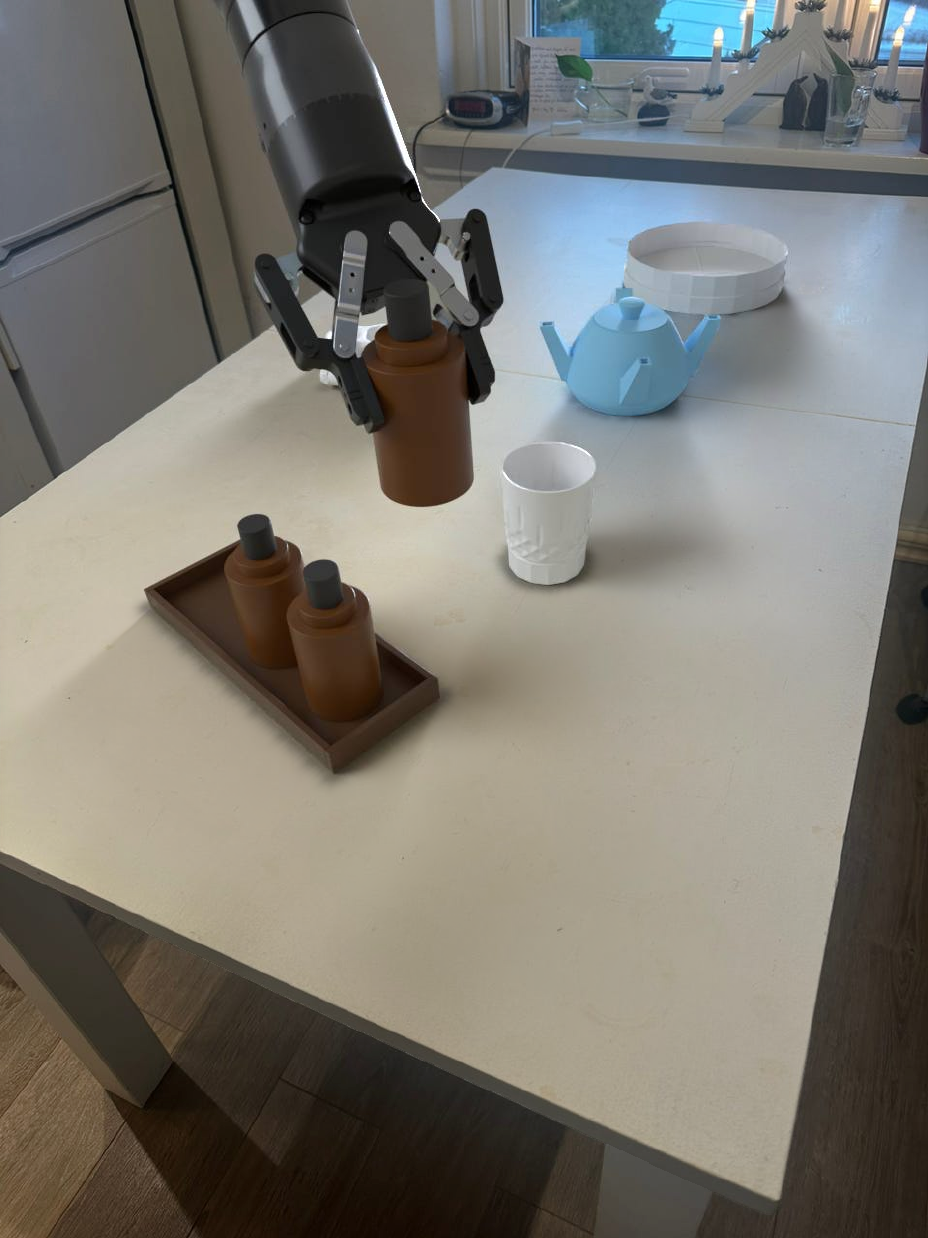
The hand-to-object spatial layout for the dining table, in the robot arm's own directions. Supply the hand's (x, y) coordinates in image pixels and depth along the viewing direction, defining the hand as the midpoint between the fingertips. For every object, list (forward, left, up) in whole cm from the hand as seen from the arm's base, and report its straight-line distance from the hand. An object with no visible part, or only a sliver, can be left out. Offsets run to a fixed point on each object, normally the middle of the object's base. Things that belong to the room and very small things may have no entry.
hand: (430, 412), depth 49 cm
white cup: (+15, +13, -25) cm, 31 cm away
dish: (+65, +60, -25) cm, 91 cm away
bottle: (0, +2, -5) cm, 6 cm away
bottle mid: (-10, +12, -24) cm, 29 cm away
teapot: (+38, +37, -25) cm, 58 cm away
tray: (-10, +12, -25) cm, 29 cm away
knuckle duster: (+16, +56, -25) cm, 63 cm away
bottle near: (-7, +5, -24) cm, 25 cm away
